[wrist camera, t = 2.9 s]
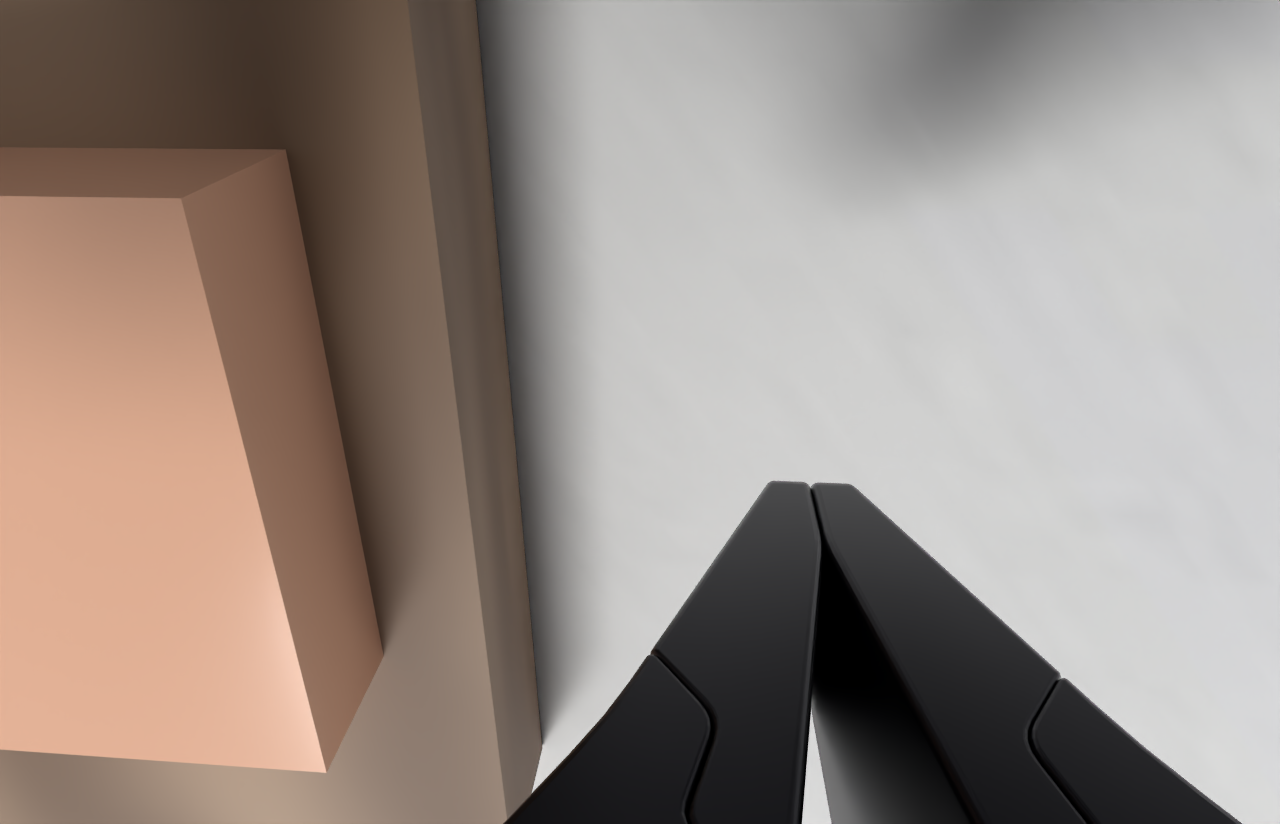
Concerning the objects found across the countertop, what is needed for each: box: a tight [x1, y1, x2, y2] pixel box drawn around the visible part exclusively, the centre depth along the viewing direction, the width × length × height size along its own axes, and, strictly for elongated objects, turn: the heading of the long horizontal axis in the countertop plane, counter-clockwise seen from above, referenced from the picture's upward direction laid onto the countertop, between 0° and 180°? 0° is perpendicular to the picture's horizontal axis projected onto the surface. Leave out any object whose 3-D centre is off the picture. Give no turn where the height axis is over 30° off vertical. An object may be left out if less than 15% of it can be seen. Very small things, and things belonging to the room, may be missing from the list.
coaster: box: [0, 147, 384, 773], centre depth 10 cm, size 7×7×2 cm
